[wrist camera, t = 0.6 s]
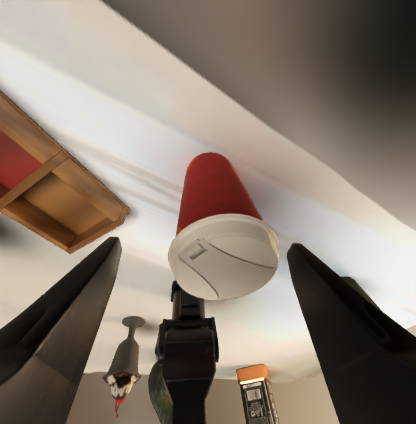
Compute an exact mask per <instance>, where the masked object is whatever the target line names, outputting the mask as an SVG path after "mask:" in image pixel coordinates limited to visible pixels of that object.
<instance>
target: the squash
mask: <svg viewBox="0 0 416 424" xmlns="http://www.w3.org/2000/svg"><path fill="white" fill-rule="evenodd" d="M148 384H149V394H150V399H151V402H152V405H153V407H154V409H155V411H156V413H157V415H158V417H159V420H160V422H161V424H172V407H173V406H172V404H171V401H170V399H169V396H168V394H167V391H166V389H165V386H164V382H163V377H162V366H159V360H158V361H157V362H156V363H155V364H154V366H153V368H152V370H151V372H150V375H149V381H148Z"/></svg>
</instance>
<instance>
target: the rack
mask: <svg viewBox="0 0 416 424" xmlns="http://www.w3.org/2000/svg"><path fill="white" fill-rule="evenodd" d="M128 211H129V208H128V207H127V206H126V205H125V204H123V203H122V202H121V201H120V200H119V199H118V198H117V197H116V196H115V195H114V194H113V193H111V192H110V191H109V190H108V189H107V188H106V187H105V186H104V185H103V184H102V183H101V182H99V181H98V180H97V179H96V178H95V177H94V176H93V175H92V174H91V173H90V172H89V171H87V170H86V169H85V168H84V167H83V166H82V165H81V164H80V163H79V162H78V161H76V160H75V159H74V158H73V157H72V156H71V155H70V154H69V153H68V152H67V151H66V150H64V149H63V148H62V147H61V146H60V145H59V144H58V143H57V142H56V141H55V140H54V139H52V138H51V137H50V136H49V135H48V134H47V133H46V132H45V131H44V130H43V129H42V128H40V127H39V126H38V125H37V124H36V123H35V122H34V121H33V120H32V119H31V118H29V117H28V116H27V115H26V114H25V113H24V112H23V111H22V110H21V109H20V108H19V107H17V106H16V105H15V104H14V103H13V102H12V101H11V100H10V99H9V98H8V97H7V96H5V95H4V94H3V93H2V92H1V91H0V212H2V213H3V214H5V215H7V216H8V217H10V218H12V219H13V220H15V221H17V222H18V223H20V224H22V225H23V226H25V227H27V228H28V229H30V230H31V231H33V232H35V233H36V234H38V235H40V236H41V237H43V238H45V239H46V240H48V241H50V242H51V243H53V244H55V245H56V246H58V247H60V248H61V249H63V250H65V251H66V252H68V253H69V254H71V253H73V252H75V251H77V250H78V249H80V248H82V247H83V246H85V245H87V244H89V243H90V242H92V241H94V240H96V239H97V238H99V237H101V236H102V235H104V234H106V233H108V232H109V231H111V230H113V229H115V228H116V227H118V226H120V225H121V224H123V223H124V220H125V218H126V215H127V213H128Z"/></svg>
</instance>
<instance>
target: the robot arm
mask: <svg viewBox="0 0 416 424" xmlns="http://www.w3.org/2000/svg"><path fill="white" fill-rule="evenodd" d="M121 252H122V247H121V244H120V240H119V238H118V237H109V238H108V239H106V240H105V241H104V242H103V243H102V244H101V245H100V246H98V247H97V248H96V249H95V250H94V251H93V252H92V253H90V254H89V255H88V256H87V257H86V258H85V259H83V260H82V261H81V262H80V263H79V264H78V265H77V266H75V267H74V268H73V269H72V270H71V271H70V272H69V273H67V274H66V275H65V276H64V277H63V278H62V279H61V280H59V281H58V282H57V283H56V284H55V285H54V286H52V287H51V288H50V289H49V290H48V291H47V292H46V293H45V294H43V295H42V296H41V297H40V298H39V299H37V300H36V301H35V302H34V303H33V304H32V305H30V306H29V307H28V308H27V309H26V310H24V311H23V312H22V313H21V314H20V315H18V316H17V317H16V318H14V319H13V320H12V321H11V322H9V323H8V324H7V325H5V326H4V327H3V328H1V329H0V424H65V423H66V421H67V418H68V415H69V412H70V409H71V406H72V403H73V401H74V398H75V395H76V392H77V389H78V386H79V383H80V380H81V377H82V375H83V372H84V369H85V366H86V363H87V360H88V357H89V355H90V352H91V349H92V346H93V343H94V340H95V337H96V335H97V332H98V329H99V326H100V323H101V320H102V317H103V315H104V312H105V309H106V306H107V303H108V300H109V297H110V295H111V292H112V289H113V286H114V283H115V279H116V275H117V271H118V266H119V261H120V257H121ZM287 260H288V265H289V269H290V274H291V278H292V282H293V286H294V289H295V292H296V295H297V298H298V301H299V304H300V307H301V310H302V313H303V316H304V319H305V321H306V324H307V327H308V330H309V333H310V336H311V339H312V342H313V345H314V348H315V351H316V354H317V357H318V360H319V363H320V366H321V369H322V372H323V375H324V378H325V381H326V384H327V387H328V390H329V393H330V396H331V399H332V402H333V405H334V408H335V411H336V414H337V417H338V420H339V423H340V424H416V337H415V336H414V335H412V334H411V333H410V332H408V331H407V330H406V329H404V328H403V327H402V326H400V325H399V324H398V323H396V322H395V321H394V320H392V319H391V318H390V317H389V316H387V315H386V314H385V313H383V312H382V311H381V310H380V309H378V308H377V307H376V306H375V305H373V304H372V303H371V302H370V301H369V300H367V299H366V298H365V297H364V296H362V295H361V294H360V293H359V292H358V291H357V290H355V289H354V288H353V287H352V286H351V285H349V284H348V283H347V282H346V281H345V280H344V279H342V278H341V277H340V276H339V275H338V274H336V273H335V272H334V271H333V270H332V269H330V268H329V267H328V266H327V265H326V264H324V263H323V262H322V261H321V260H320V259H319V258H317V257H316V256H315V255H314V254H313V253H311V252H310V251H309V250H308V249H307V248H305V247H304V246H303V245H302V244H299V243H293V244H292V245H291V247H290V249H289V250H288V252H287ZM171 302H173V313H172V319H171V320H167V319H163V323H162V324H160V326H159V334H158V339H157V344H156V348H155V354H156V355H157V356H158V360H159V366H162V377H163V382H164V386H165V389H166V391H167V394H168V396H169V399H170V401H171V404H172V406H173V407H172V424H207V423H206V422H207V421H206V398H207V395H208V392H209V390H210V387H211V384H212V381H213V378H214V375H215V372H216V363H215V362H218V360H219V347H218V338H217V332H216V325H215V319H214V317H211V318H205V307H204V299H202V298H199V297H196V296H193V295H191V294H189V293H187V292H186V291H184V290H183V289H182V288H181V287H180V286H179V284H178V283H177V281H174V282H173V284H172V295H171Z"/></svg>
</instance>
